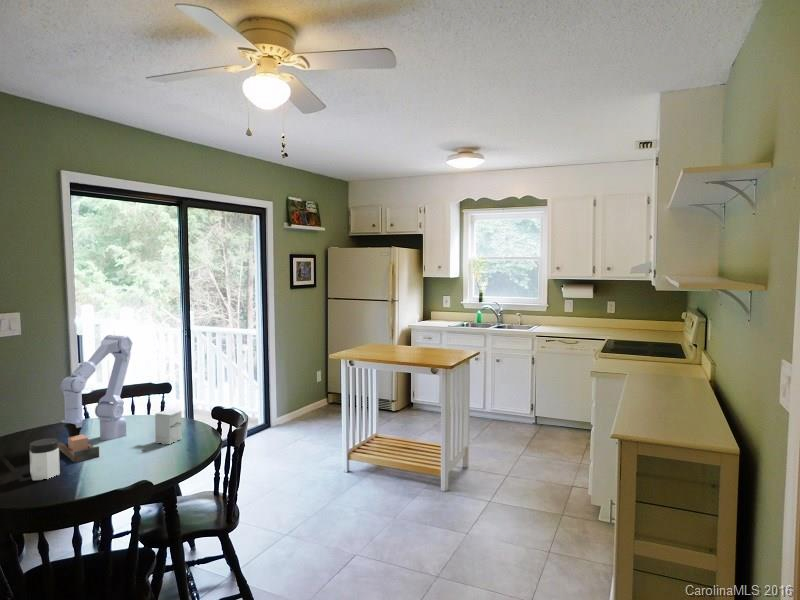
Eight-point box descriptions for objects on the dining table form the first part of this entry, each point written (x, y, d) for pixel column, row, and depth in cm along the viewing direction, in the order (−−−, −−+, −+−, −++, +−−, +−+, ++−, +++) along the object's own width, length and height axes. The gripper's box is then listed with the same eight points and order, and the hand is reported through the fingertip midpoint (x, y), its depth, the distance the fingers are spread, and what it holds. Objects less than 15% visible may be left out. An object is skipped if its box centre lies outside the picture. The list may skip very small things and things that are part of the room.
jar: (24, 481, 174) (23, 446, 173) (35, 472, 182) (34, 439, 181) (54, 479, 176) (53, 444, 175) (64, 470, 184) (63, 437, 183)
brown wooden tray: (86, 444, 211) (85, 432, 210) (105, 458, 196) (104, 445, 196) (51, 452, 202) (51, 439, 201) (68, 467, 187) (68, 453, 187)
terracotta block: (82, 449, 202) (82, 434, 202) (88, 453, 198) (87, 437, 198) (68, 452, 199) (67, 437, 198) (73, 456, 195) (72, 440, 194)
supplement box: (169, 445, 211) (168, 415, 210) (155, 443, 213) (154, 413, 213) (182, 439, 218) (181, 410, 217) (168, 437, 220) (167, 408, 220)
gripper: (56, 405, 202) (57, 439, 203) (67, 413, 193) (68, 448, 193) (76, 402, 208) (77, 435, 208) (88, 409, 198) (89, 444, 199)
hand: (74, 441), depth 201 cm, fingers closed
